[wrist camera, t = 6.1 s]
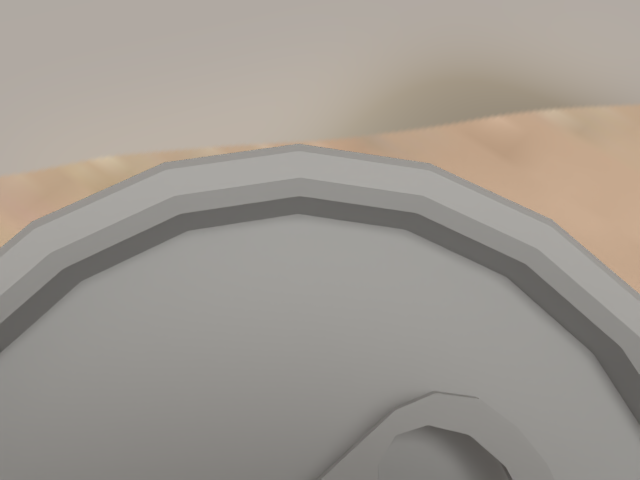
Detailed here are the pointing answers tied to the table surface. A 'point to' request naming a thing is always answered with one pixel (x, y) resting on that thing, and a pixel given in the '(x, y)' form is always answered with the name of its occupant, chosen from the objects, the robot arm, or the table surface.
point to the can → (312, 331)
